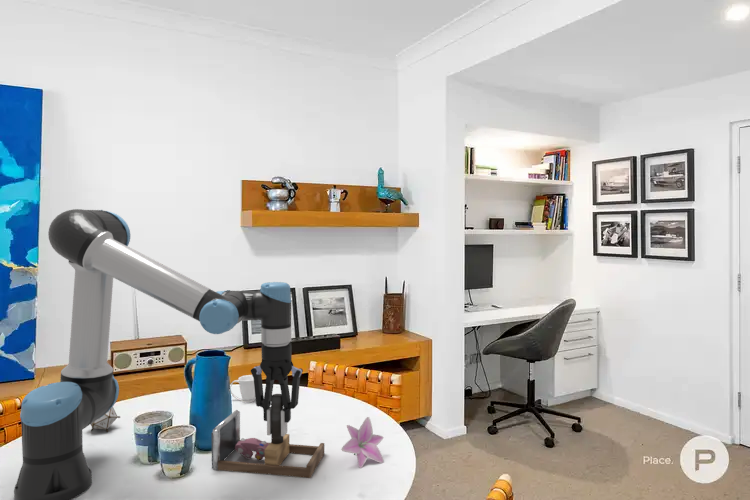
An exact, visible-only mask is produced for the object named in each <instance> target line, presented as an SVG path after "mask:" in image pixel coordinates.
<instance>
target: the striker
mask: <svg viewBox="0 0 750 500" xmlns="http://www.w3.org/2000/svg"><path fill="white" fill-rule="evenodd" d="M270 407H271V435H270V437H271V440H270V441H271V442H269V443H270V444H269V445H268V446H267V447H266V449H265V457H264V464H271V465H282V464H283V462H284V460H285V459H286V458H287V457H288V455H289V454H290V453H289V444H290V433H286V434H285V436H281V410H282V409H283V408H284V407H283V401H282V394H281V393H272V395H271V405H270Z"/></svg>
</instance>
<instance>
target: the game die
mask: <svg viewBox="0 0 750 500" xmlns="http://www.w3.org/2000/svg"><path fill="white" fill-rule="evenodd" d="M120 418H121V416H120V415H119V416H118V414H117V413H116V410H115V409H114V406H113V407H112V408H111V409H110V410H109V411H108V412H107V413H106V414H105V415H104V416H102V417H100V418H99V419H97V420H96V421H94V422H93V423H91V424H90V426H91V429H90V431H91V432H92V431H94V430H105V431H106V432H107V433H108V432H109V428H110V427H111V426H112V424H113V423H114V422H115V421H116V420H117V419H120Z"/></svg>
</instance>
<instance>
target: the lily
mask: <svg viewBox="0 0 750 500" xmlns="http://www.w3.org/2000/svg"><path fill="white" fill-rule="evenodd" d="M346 428H347V431H348V433H349V436H350V437H351V438H349V440H348V441H347V442H345V444H343V446H342V447H341V449H340V450H341V451H342V452H344V453H349V454H353V455H354V456H355V455H356V460H357V465H358V468H359V469H362V468H363V466H364V465H365V463H366V461H367V459H368V458H369V459H371V460H373V461H375V462H376V463H377V462H378V463H380V464H383V463H385V462H384V458H383V456H382V453H381V451H380V449H379V447H378V445H379V444H381V442H382V441H383V439H384V436H382V435H380V434H373V432H374V431H373V425H372V421H371V418H370V416H367V417H366V418H365V419H364V420H363V422H362V424H361V426H360V428H359V429H358V428H356V427H354V426H352V425H350V424H347V425H346Z"/></svg>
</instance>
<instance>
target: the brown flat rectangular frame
mask: <svg viewBox="0 0 750 500" xmlns="http://www.w3.org/2000/svg"><path fill="white" fill-rule="evenodd" d="M266 442H267V441H266ZM267 443H269V444H270V443H271V442H267ZM289 454H295V455H309V456H311V458H310V459H309V461H308V462H307V464H306V467H305V466H304V467H303V466H296V465H295V466H293V465H282V464H281V465H271V464H265V463H258V462H257V463H256V462H246V461H232V460H224V461H223V460H220V461H219V462H218V470H217V471H226V472H228V471H229V472H239V473H249V474H250V473H251V474H260V475H262V474H263V475H273V476H282V477H283V476H284V477H295V478H306V479H307V478H308V479H311V478H312V476H313V474H314V473H315V471H316V469H317V468H318V467H319V464H320V462H321V461H322V459H323V458H324V455H325V443H324V442H320V443H319V445H306V444H305V445H303V444H292V443H291V444H290V443H289Z"/></svg>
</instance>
